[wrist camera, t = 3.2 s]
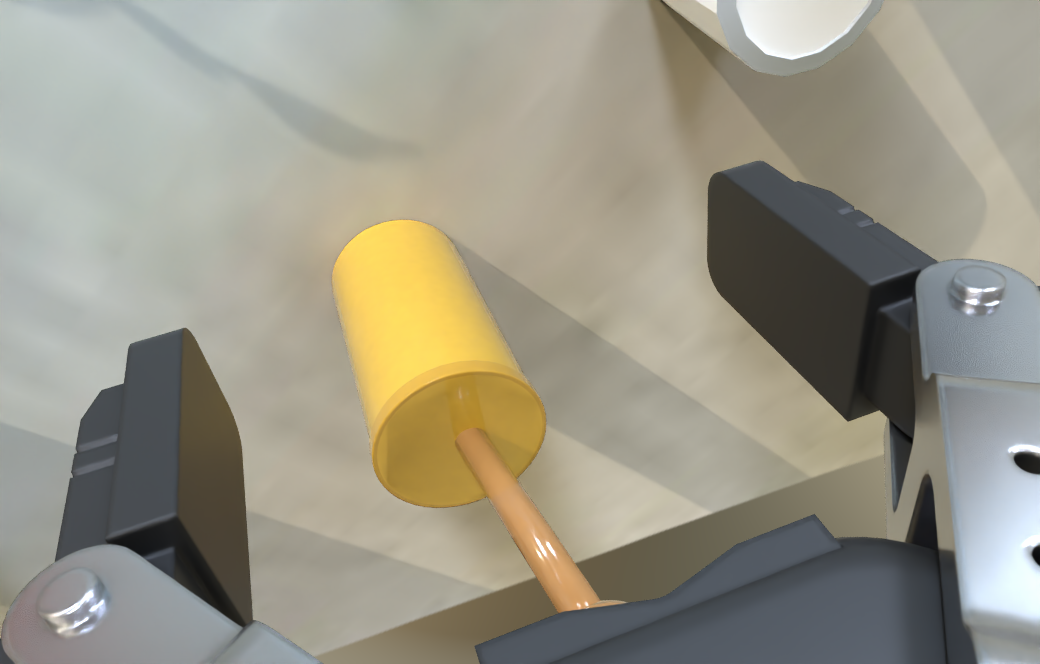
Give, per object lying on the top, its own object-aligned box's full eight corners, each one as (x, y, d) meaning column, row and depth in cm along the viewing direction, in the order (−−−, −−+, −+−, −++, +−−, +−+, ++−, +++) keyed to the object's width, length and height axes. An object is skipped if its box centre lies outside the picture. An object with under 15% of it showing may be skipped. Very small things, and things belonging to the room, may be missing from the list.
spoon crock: (350, 351, 36) (478, 848, 19) (311, 240, 32) (426, 736, 16) (474, 312, 37) (697, 753, 20) (449, 200, 33) (697, 627, 17)
